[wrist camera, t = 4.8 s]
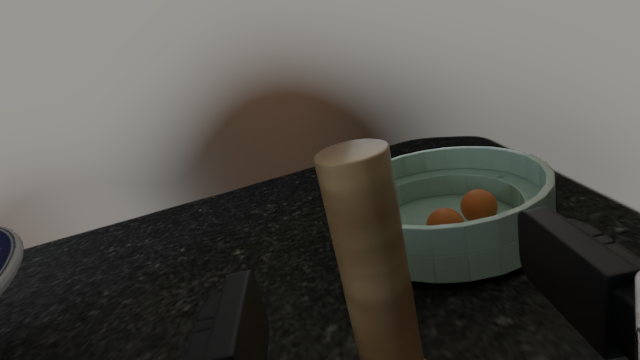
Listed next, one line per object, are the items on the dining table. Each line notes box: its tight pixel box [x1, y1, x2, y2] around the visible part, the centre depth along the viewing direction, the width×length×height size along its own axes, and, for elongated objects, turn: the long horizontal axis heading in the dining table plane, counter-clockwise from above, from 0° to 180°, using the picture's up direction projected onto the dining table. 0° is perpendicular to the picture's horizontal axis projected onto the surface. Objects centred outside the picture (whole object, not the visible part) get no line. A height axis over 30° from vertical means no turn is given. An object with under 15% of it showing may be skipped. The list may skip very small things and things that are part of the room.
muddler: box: [314, 139, 426, 360], centre depth 20 cm, size 4×4×14 cm
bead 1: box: [426, 208, 464, 226], centre depth 34 cm, size 3×3×3 cm
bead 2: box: [460, 189, 498, 221], centre depth 36 cm, size 3×3×3 cm
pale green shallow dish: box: [391, 146, 556, 283], centre depth 36 cm, size 17×17×5 cm
